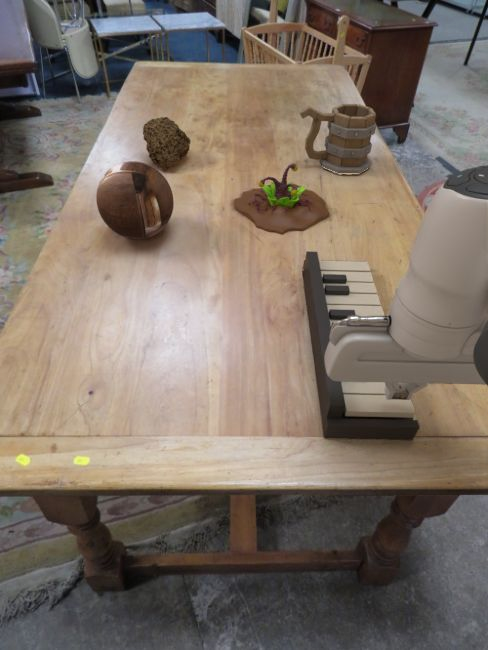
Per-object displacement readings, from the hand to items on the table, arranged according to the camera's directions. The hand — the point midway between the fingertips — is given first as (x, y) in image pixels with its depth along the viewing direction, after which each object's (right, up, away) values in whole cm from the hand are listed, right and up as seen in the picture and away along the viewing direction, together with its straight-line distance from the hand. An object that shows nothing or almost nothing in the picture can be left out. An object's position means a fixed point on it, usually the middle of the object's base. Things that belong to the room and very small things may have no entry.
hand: (396, 395), depth 56 cm
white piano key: (-2, -2, +2) cm, 4 cm away
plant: (-11, +34, +43) cm, 56 cm away
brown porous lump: (-40, +54, +62) cm, 91 cm away
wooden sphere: (-42, +29, +37) cm, 62 cm away
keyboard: (-3, +6, +15) cm, 17 cm away
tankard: (+4, +52, +62) cm, 81 cm away
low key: (-1, +19, +24) cm, 30 cm away
